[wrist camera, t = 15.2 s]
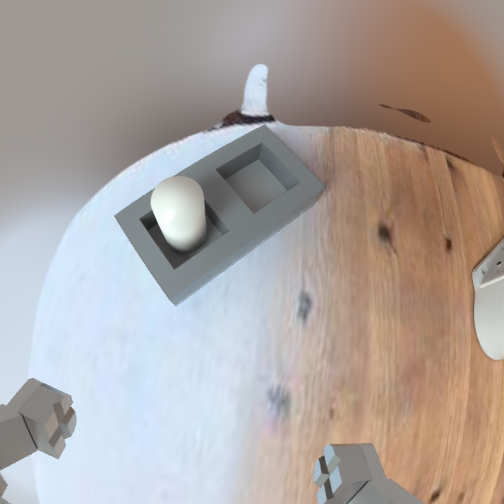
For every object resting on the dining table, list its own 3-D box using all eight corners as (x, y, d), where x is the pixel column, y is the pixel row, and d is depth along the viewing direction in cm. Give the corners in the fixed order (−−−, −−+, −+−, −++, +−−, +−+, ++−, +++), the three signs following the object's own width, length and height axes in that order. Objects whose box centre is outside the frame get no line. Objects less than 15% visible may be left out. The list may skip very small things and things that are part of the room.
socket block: (259, 146, 38) (264, 124, 34) (314, 204, 37) (325, 187, 32) (125, 231, 33) (113, 215, 29) (175, 306, 31) (169, 299, 27)
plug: (191, 211, 34) (184, 167, 25) (215, 241, 33) (214, 203, 24) (159, 233, 32) (141, 194, 24) (181, 264, 32) (169, 234, 23)
